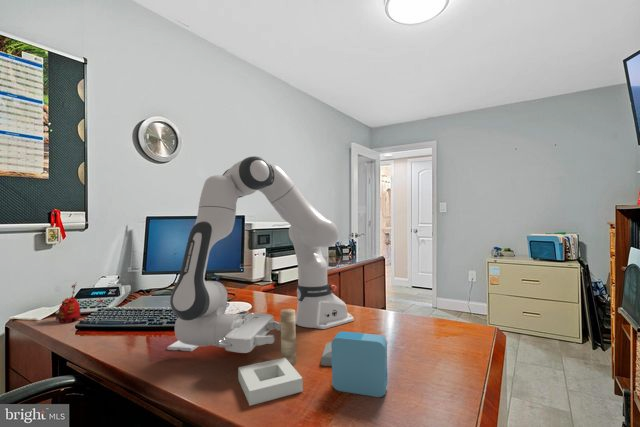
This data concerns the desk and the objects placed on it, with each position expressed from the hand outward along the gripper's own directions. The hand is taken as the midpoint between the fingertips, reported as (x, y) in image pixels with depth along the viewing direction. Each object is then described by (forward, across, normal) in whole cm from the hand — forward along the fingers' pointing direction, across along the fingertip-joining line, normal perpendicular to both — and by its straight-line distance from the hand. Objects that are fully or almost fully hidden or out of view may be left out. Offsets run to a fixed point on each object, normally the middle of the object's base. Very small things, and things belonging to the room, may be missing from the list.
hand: (279, 332), depth 86 cm
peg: (+2, 0, +8) cm, 8 cm away
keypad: (+19, +5, +9) cm, 21 cm away
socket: (+1, -12, +8) cm, 14 cm away
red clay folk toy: (-94, +24, +8) cm, 97 cm away
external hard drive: (-32, +10, +9) cm, 35 cm away
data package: (+22, -11, +8) cm, 26 cm away
